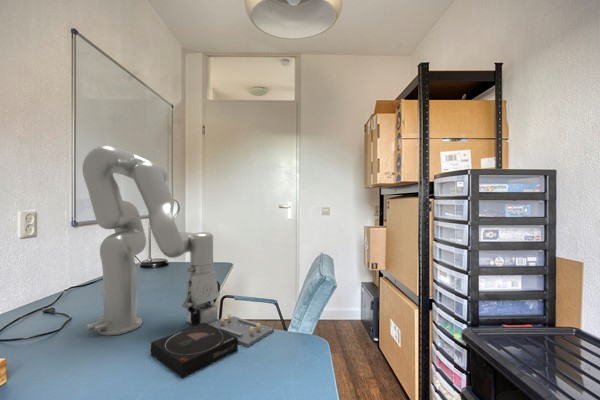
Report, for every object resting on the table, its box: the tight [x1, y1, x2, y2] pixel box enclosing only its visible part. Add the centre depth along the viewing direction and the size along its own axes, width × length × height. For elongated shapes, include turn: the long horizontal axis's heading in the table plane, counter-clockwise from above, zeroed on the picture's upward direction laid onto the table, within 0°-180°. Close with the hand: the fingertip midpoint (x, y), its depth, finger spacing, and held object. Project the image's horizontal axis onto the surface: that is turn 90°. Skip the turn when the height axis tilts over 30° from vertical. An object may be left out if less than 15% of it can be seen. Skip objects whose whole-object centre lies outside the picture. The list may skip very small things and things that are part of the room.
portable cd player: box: [149, 322, 239, 379], centre depth 81 cm, size 16×17×4 cm
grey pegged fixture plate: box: [213, 313, 275, 348], centre depth 93 cm, size 12×18×4 cm, turn 57°
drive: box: [186, 303, 218, 326], centre depth 100 cm, size 5×10×6 cm, turn 54°
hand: (202, 320), depth 100 cm, fingers closed on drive, 5 cm apart
